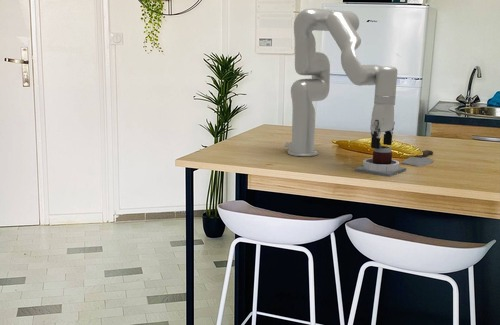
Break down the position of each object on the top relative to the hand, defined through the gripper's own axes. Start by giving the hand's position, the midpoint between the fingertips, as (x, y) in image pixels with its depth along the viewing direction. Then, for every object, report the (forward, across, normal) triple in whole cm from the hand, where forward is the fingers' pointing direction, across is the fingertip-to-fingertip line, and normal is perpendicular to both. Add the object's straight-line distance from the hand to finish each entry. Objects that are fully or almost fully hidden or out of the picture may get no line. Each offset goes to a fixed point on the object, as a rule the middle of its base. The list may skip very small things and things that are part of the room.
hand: (381, 146), depth 223 cm
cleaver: (+10, -31, +3) cm, 33 cm away
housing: (+9, 0, 0) cm, 9 cm away
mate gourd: (+8, 0, 0) cm, 8 cm away
